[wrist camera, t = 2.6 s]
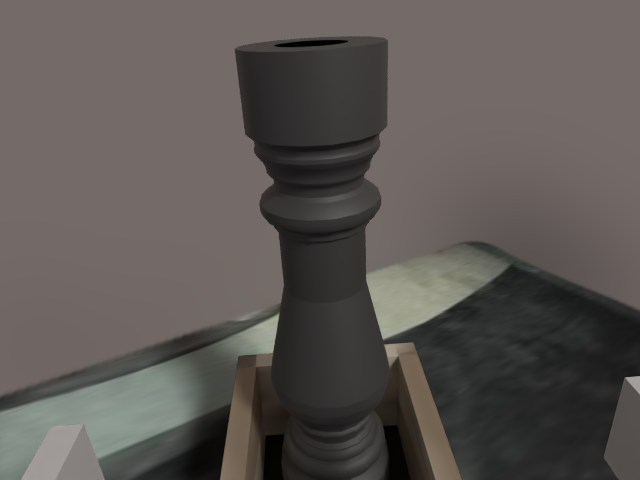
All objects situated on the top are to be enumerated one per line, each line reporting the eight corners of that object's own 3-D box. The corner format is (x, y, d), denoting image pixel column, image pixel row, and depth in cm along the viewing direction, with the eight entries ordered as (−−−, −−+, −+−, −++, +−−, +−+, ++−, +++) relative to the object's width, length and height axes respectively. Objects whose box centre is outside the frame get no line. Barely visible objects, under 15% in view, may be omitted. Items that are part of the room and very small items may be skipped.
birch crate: (234, 577, 25) (216, 500, 22) (249, 423, 34) (238, 355, 32) (453, 557, 25) (461, 480, 23) (410, 410, 35) (412, 342, 32)
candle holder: (324, 564, 25) (282, 57, 14) (266, 480, 30) (201, 48, 19) (410, 498, 29) (431, 38, 17) (346, 431, 33) (329, 34, 22)
